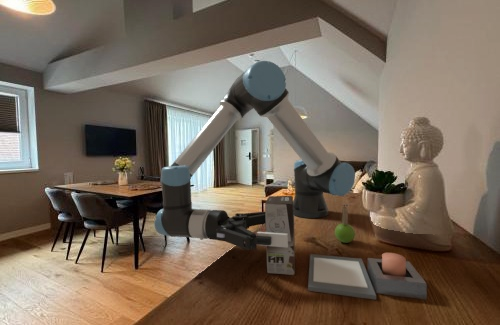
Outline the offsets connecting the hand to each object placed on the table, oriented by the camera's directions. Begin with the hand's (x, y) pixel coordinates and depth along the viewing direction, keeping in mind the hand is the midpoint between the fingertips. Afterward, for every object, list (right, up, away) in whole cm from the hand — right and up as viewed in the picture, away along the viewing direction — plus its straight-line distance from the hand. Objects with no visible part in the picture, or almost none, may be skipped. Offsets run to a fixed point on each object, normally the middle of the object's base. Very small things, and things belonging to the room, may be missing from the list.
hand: (291, 229), depth 53 cm
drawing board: (+9, -9, -4) cm, 13 cm away
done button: (+19, -7, -8) cm, 22 cm away
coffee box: (-2, -9, +1) cm, 10 cm away
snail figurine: (+18, -8, +12) cm, 23 cm away
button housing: (+19, -9, -8) cm, 22 cm away
